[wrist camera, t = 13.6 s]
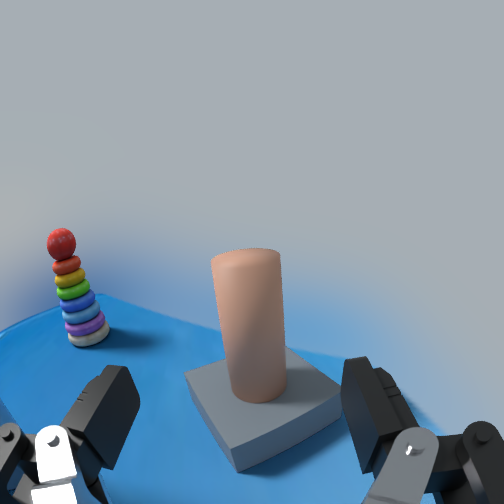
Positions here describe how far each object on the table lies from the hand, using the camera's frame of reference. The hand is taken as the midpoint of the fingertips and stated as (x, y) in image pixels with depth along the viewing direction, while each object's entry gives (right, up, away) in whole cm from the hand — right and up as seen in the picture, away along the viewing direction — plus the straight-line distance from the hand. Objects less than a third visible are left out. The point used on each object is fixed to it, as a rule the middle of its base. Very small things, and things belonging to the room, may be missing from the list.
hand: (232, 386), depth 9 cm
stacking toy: (-27, -10, +31) cm, 42 cm away
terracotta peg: (+1, -7, +14) cm, 16 cm away
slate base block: (+2, -11, +15) cm, 19 cm away
